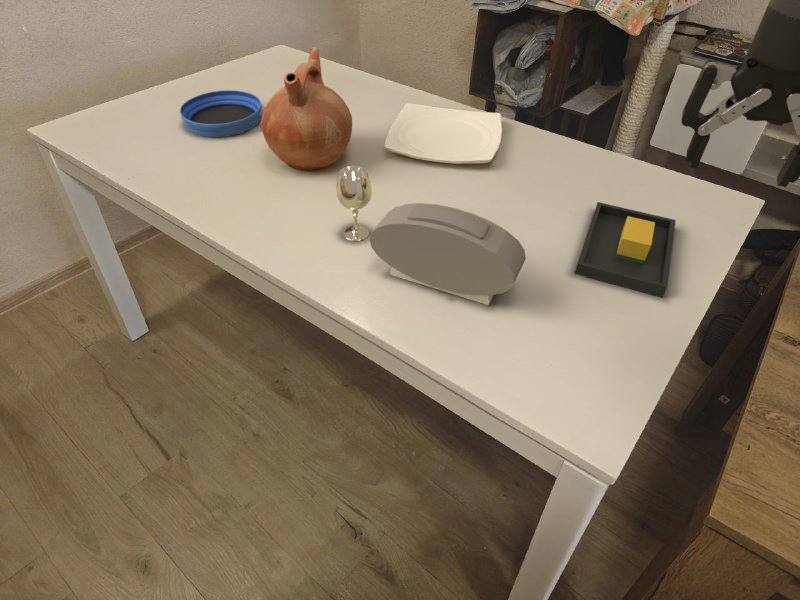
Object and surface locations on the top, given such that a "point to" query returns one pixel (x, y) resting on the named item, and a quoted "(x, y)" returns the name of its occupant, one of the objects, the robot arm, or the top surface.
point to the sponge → (635, 240)
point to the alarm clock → (448, 250)
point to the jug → (307, 120)
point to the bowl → (221, 113)
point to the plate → (445, 134)
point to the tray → (607, 268)
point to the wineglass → (354, 197)
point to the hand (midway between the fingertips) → (736, 173)
